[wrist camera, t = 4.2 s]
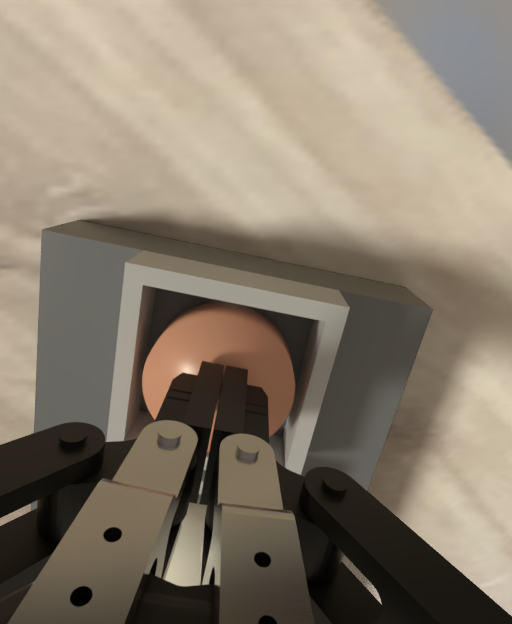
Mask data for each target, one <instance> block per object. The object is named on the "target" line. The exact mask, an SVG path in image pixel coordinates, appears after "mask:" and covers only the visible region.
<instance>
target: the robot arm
mask: <svg viewBox="0 0 512 624" xmlns="http://www.w3.org/2000/svg"><path fill="white" fill-rule="evenodd" d="M223 368H224V365H222V364H217V363H211V362H206V361H202V363H201V366H200V369H199V372H198V375H193V374H188V373H181V374H180V375H178V376H177V377H175V378H174V379H173V380H172V382H171V384H170V387H169V390H168V391H167V394H166V397H165V398H164V401H163V403H162V405H161V408H160V410H159V412H158V415H157V417H156V419H155V422H153V423H151V424H149V425H147V426H146V427H145V428H144V429H143V430H142V431H141V433H140V435H139V436H138V438H136V439H132V440H127V441H114V442H105V435H104V433H103V432H102V430H101V429H99V428H98V427H96V426H94V425H92V424H88V423H83V422H69V423H63V424H59V425H56V426H53V427H51V428H48V429H45V430H42V431H39V432H36V433H33V434H31V435H28V436H25V437H22V438H19V439H16V440H13V441H11V442H8V443H5V444H2V445H0V518H1V517H3V516H5V515H7V514H9V513H12V512H14V511H16V510H18V509H20V508H22V507H24V506H26V505H28V504H30V503H33V502H35V501H37V508H36V509H34V510H32V511H30V512H28V513H26V514H24V515H22V516H20V517H18V518H16V519H14V520H12V521H10V522H8V523H6V524H4V525H2V526H0V624H512V616H511V615H509V614H508V613H507V612H506V611H505V610H504V609H502V608H501V607H500V606H499V605H498V604H497V603H496V602H494V601H493V600H492V599H491V598H490V597H489V596H487V595H486V594H485V593H484V592H483V591H482V590H481V589H479V588H478V587H477V586H476V585H475V584H474V583H472V582H471V581H470V580H469V579H468V578H467V577H466V576H464V575H463V574H462V573H461V572H460V571H459V570H458V569H456V568H455V567H454V566H453V565H452V564H451V563H449V562H448V561H447V560H446V559H445V558H444V557H443V556H441V555H440V554H439V553H438V552H437V551H436V550H434V549H433V548H432V547H431V546H430V545H429V544H428V543H426V542H425V541H424V540H423V539H422V538H421V537H419V536H418V535H417V534H416V533H415V532H414V531H413V530H411V529H410V528H409V527H408V526H407V525H406V524H404V523H403V522H402V521H401V520H400V519H399V518H398V517H396V516H395V515H394V514H393V513H392V512H391V511H389V510H388V509H387V508H386V507H385V506H384V505H383V504H381V503H380V502H379V501H378V500H377V499H376V498H375V497H373V496H372V495H371V494H370V493H369V492H368V491H366V490H365V489H364V488H363V487H362V486H361V485H360V484H358V483H357V482H356V481H355V480H354V479H353V478H351V477H350V476H349V475H347V474H346V473H344V472H342V471H340V470H337V469H334V468H330V467H316V468H313V469H311V470H309V471H308V472H307V474H306V476H305V477H304V476H302V475H299V474H297V473H295V472H292V471H290V470H288V469H286V468H285V467H283V466H282V465H281V464H279V463H278V462H277V461H276V459H275V454H274V451H273V449H272V447H271V446H270V445H269V417H268V415H269V414H268V396H267V395H266V393H265V392H264V390H263V389H262V387H257V386H252V385H247V378H248V369H243V368H238V367H233V366H227V365H226V369H225V374H224V379H223V384H222V389H221V394H220V399H219V404H218V409H217V414H216V419H215V424H214V430H213V435H212V440H211V445H210V451H209V456H208V461H207V467H206V472H205V477H204V482H203V488H202V493H201V498H200V504H202V505H207V509H206V515H205V520H204V525H203V530H202V538H201V551H200V565H199V578H198V585H196V586H178V585H175V584H173V583H171V582H168V581H166V580H165V578H166V575H167V572H168V568H169V565H170V562H171V559H172V556H173V553H174V550H175V547H176V544H177V541H178V537H179V534H180V531H181V527H182V522H183V519H184V518H185V516H186V514H187V510H188V506H189V503H195V504H197V500H198V495H199V490H200V485H201V480H202V475H203V470H204V465H205V460H206V455H207V450H208V445H209V439H210V434H211V429H212V424H213V419H214V414H215V409H216V404H217V399H218V394H219V389H220V384H221V379H222V373H223ZM344 554H345V556H346V557H347V558H348V559H349V560H350V561H351V562H352V563H353V564H354V565H355V566H356V567H357V568H358V569H359V570H360V571H361V572H362V574H363V575H364V576H365V577H366V578H367V579H368V580H369V581H370V582H371V583H372V584H373V585H374V587H375V588H376V590H377V591H378V593H379V596H380V598H381V602H382V605H381V604H380V603H379V601H378V600H377V599H376V598H375V597H374V596H373V595H372V594H371V593H370V592H369V591H368V590H367V588H366V587H365V586H364V585H363V584H362V583H361V582H360V581H359V580H358V579H357V578H356V577H355V575H354V574H353V573H352V572H351V571H350V570H349V569H348V568H347V567H346V566H345V565H344V564H343V563H342V558H343V555H344ZM34 581H35V582H34ZM32 582H34V583H32ZM31 583H32V584H31ZM29 584H30V585H29Z"/></svg>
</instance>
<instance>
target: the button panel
mask: <svg viewBox="0 0 512 624" xmlns="http://www.w3.org/2000/svg"><path fill="white" fill-rule="evenodd" d="M213 302H228V303H235V304H239V305H243V306H246V307H249V308H251V309H253V310H255V311H257V312H259V313H261V314H262V315H264V316H265V317H266V318H268V319H269V320H270V321H271V322H272V323H273V324H274V325H275V326H276V327H277V328H278V329H279V331H280V332H281V333H282V335H283V337H284V338H285V340H286V342H287V345H288V347H289V350H290V354H291V359H292V365H293V372H294V379H295V396H294V401H293V405H292V408H291V410H290V413H289V415H288V416H287V418H286V420H285V421H284V423H283V424H282V426H281V427H280V428H279V429H278V430H277V431H276V432H275V433H274V434H273V435H272V436H270V437H269V445H270V446H271V447H272V449H273V451H274V454H275V459H276V461H277V462H278V463H279V464H281V465H282V466H283V467H285V468H286V469H288V470H290V471H292V472H295V473H297V474H299V475H302V476H304V477H305V476H306V474H307V472H308V471H309V470H311V469H313V468H316V467H330V468H334V469H337V470H340V471H342V472H344V473H346V474H347V475H349V476H350V477H351V478H353V479H354V480H355V481H356V482H357V483H358V484H360V485H361V486H362V487H363V488H364V489H365V490H366V491H367V490H368V488H369V485H370V482H371V479H372V477H373V474H374V471H375V468H376V466H377V463H378V460H379V457H380V454H381V452H382V449H383V446H384V443H385V441H386V438H387V435H388V432H389V430H390V427H391V424H392V421H393V418H394V416H395V413H396V410H397V407H398V405H399V402H400V399H401V396H402V394H403V391H404V388H405V385H406V383H407V380H408V377H409V374H410V371H411V369H412V366H413V363H414V360H415V358H416V355H417V352H418V349H419V347H420V344H421V341H422V338H423V336H424V333H425V330H426V327H427V324H428V322H429V319H430V316H431V313H432V311H433V309H432V308H430V307H429V306H428V305H427V304H425V303H424V302H423V301H422V300H421V299H419V298H418V297H417V296H416V295H414V294H413V293H412V292H411V291H409V290H408V289H407V288H406V287H401V286H396V285H391V284H386V283H382V282H377V281H372V280H367V279H362V278H357V277H352V276H348V275H343V274H338V273H333V272H328V271H323V270H319V269H314V268H309V267H304V266H299V265H294V264H289V263H285V262H280V261H275V260H270V259H265V258H260V257H255V256H251V255H246V254H241V253H236V252H231V251H226V250H222V249H217V248H212V247H207V246H202V245H197V244H192V243H188V242H183V241H178V240H173V239H168V238H163V237H159V236H154V235H149V234H144V233H139V232H134V231H129V230H125V229H120V228H115V227H110V226H105V225H100V224H96V223H91V222H86V221H81V220H77V221H73V222H69V223H65V224H61V225H58V226H54V227H50V228H46V229H42V240H41V266H40V292H39V318H38V344H37V370H36V395H35V421H34V433H36V432H39V431H42V430H45V429H48V428H51V427H53V426H56V425H59V424H63V423H69V422H83V423H88V424H92V425H94V426H96V427H98V428H99V429H101V430H102V432H103V433H104V435H105V442H114V441H127V440H132V439H136V438H138V436H139V435H140V433H141V431H142V430H143V429H144V428H145V427H146V426H147V425H149V424H151V423H153V422H155V420H154V418H153V417H152V415H151V413H150V412H149V410H148V407H147V405H146V402H145V399H144V395H143V388H142V375H143V370H144V365H145V363H146V360H147V357H148V355H149V353H150V352H151V350H152V348H153V347H154V345H155V343H156V342H157V340H158V338H159V337H160V335H161V334H162V332H163V331H164V329H165V328H166V327H167V325H168V324H169V323H170V322H171V321H172V320H173V319H174V318H176V317H177V316H178V315H180V314H181V313H183V312H185V311H186V310H188V309H190V308H193V307H195V306H198V305H202V304H206V303H213ZM208 456H209V452H207V455H206V460H205V465H204V470H203V475H202V480H201V485H200V490H199V494H200V495H201V493H202V488H203V482H204V477H205V472H206V467H207V461H208ZM36 508H37V501H35V502H33V503H31V511H32V510H34V509H36ZM343 557H344V555H343ZM342 560H343V558H342ZM34 582H35V581H34ZM34 582H32V583H34ZM32 583H31V584H32ZM29 585H30V584H29Z"/></svg>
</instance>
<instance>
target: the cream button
mask: <svg viewBox="0 0 512 624" xmlns="http://www.w3.org/2000/svg"><path fill="white" fill-rule="evenodd" d="M200 498H201V495H200V494H199V495H198V500H197V504H195V503H189V506H188V510H187V514H186V516H185V518H184V519H183V522H182V527H181V531H180V534H179V537H178V541H177V544H176V547H175V550H174V553H173V556H172V559H171V562H170V565H169V568H168V572H167V575H166V578H165V580H166V581H168V582H171V583H173V584H175V585H178V586H196V585H198V578H199V565H200V551H201V538H202V530H203V525H204V520H205V515H206V509H207V505H202V504H200Z"/></svg>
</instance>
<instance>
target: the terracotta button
mask: <svg viewBox="0 0 512 624" xmlns="http://www.w3.org/2000/svg"><path fill="white" fill-rule="evenodd" d="M202 361H206V362H211V363H217V364H222V365H224V368H223V373H222V379H221V384H220V389H219V394H218V399H217V404H216V409H215V414H214V419H213V424H212V429H211V434H210V439H209V445H208V450H207V452H209V451H210V445H211V440H212V435H213V430H214V424H215V419H216V414H217V409H218V404H219V399H220V394H221V389H222V384H223V379H224V374H225V369H226V365H227V366H233V367H238V368H243V369H248V378H247V385H252V386H257V387H262V389H263V390H264V392H265V393H266V395H267V396H268V414H269V415H268V417H269V437H270V436H272V435H273V434H274V433H275V432H276V431H277V430H278V429H279V428H280V427H281V426H282V424H283V423H284V421H285V420H286V418H287V416H288V415H289V413H290V410H291V408H292V405H293V401H294V396H295V379H294V372H293V365H292V359H291V354H290V350H289V347H288V345H287V342H286V340H285V338H284V337H283V335H282V333H281V332H280V331H279V329H278V328H277V327H276V326H275V325H274V324H273V323H272V322H271V321H270V320H269V319H268V318H266V317H265V316H264V315H262V314H261V313H259V312H257V311H255V310H253V309H251V308H249V307H246V306H243V305H239V304H235V303H228V302H213V303H206V304H202V305H198V306H195V307H193V308H190V309H188V310H186V311H185V312H183V313H181V314H180V315H178V316H177V317H176V318H174V319H173V320H172V321H171V322H170V323H169V324H168V325H167V327H166V328H165V329H164V331H163V332H162V334H161V335H160V337H159V338H158V340H157V342H156V343H155V345H154V347H153V348H152V350H151V352H150V353H149V355H148V357H147V360H146V363H145V365H144V370H143V375H142V388H143V395H144V399H145V402H146V405H147V407H148V410H149V412H150V413H151V415H152V417H153V418H154V420H155V419H156V417H157V415H158V412H159V410H160V408H161V405H162V403H163V401H164V398H165V397H166V394H167V391H168V390H169V387H170V384H171V382H172V380H173V379H174V378H175V377H177V376H178V375H180V374H181V373H188V374H193V375H198V372H199V369H200V366H201V363H202Z"/></svg>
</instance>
